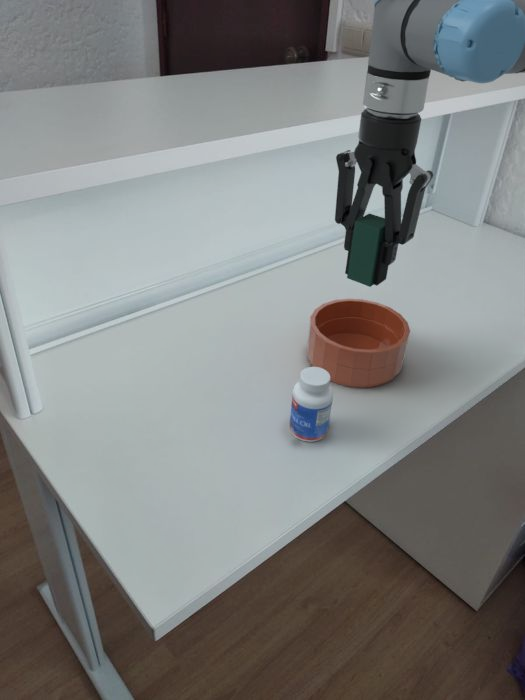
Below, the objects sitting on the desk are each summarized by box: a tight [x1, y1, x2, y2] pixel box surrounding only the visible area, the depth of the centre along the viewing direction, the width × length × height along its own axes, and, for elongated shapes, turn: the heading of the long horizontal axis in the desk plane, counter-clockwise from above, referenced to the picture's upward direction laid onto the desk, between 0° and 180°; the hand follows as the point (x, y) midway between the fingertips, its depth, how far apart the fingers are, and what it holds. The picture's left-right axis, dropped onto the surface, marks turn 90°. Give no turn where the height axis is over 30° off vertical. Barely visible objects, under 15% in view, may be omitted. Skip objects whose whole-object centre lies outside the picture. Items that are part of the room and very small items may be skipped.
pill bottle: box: [289, 366, 334, 443], centre depth 78 cm, size 6×5×10 cm
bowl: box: [306, 298, 411, 389], centre depth 94 cm, size 16×16×7 cm
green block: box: [346, 213, 385, 288], centre depth 84 cm, size 4×4×9 cm
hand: (365, 276), depth 86 cm, fingers closed on green block, 4 cm apart
